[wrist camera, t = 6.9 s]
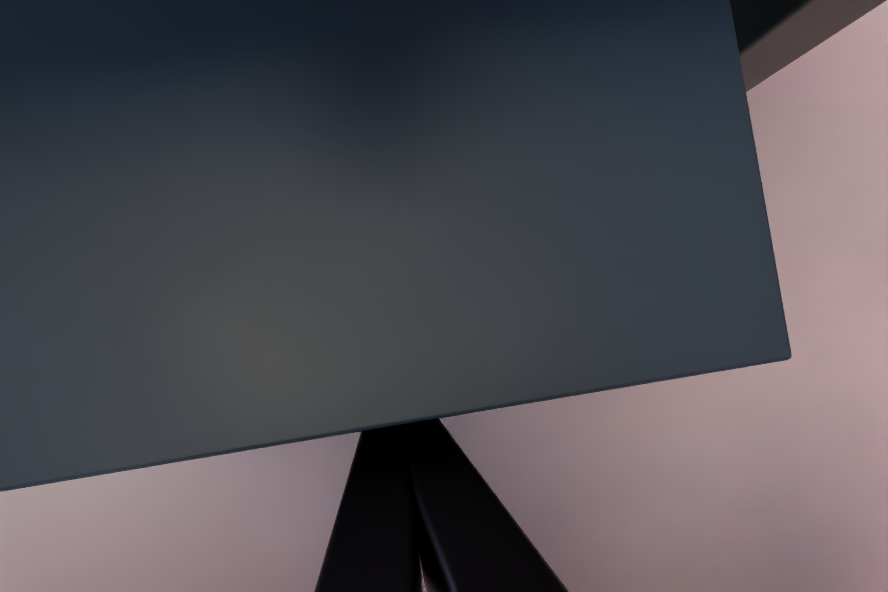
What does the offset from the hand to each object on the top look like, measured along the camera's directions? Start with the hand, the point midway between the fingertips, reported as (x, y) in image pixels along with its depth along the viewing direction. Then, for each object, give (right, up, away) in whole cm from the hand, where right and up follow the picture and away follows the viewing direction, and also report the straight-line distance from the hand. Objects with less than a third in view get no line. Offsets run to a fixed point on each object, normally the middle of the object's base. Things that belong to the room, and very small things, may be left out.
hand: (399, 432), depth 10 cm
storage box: (-2, +5, +7) cm, 9 cm away
